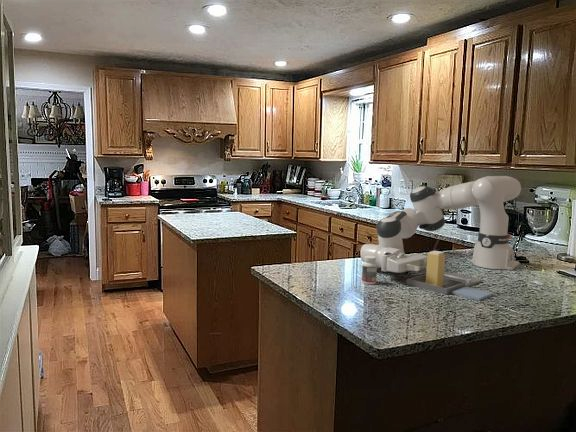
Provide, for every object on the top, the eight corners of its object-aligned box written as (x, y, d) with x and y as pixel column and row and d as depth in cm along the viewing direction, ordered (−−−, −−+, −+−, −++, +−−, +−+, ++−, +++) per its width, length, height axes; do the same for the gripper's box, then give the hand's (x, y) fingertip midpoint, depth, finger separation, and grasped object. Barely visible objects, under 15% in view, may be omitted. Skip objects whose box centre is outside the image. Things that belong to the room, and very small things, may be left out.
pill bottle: (360, 280, 178) (361, 255, 177) (374, 280, 179) (375, 255, 177) (363, 284, 173) (364, 258, 172) (378, 284, 173) (379, 258, 172)
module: (432, 283, 177) (434, 250, 175) (443, 286, 173) (445, 252, 172) (425, 285, 174) (427, 251, 172) (436, 288, 170) (438, 253, 169)
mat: (465, 288, 171) (465, 286, 171) (493, 295, 164) (493, 292, 164) (451, 293, 164) (451, 291, 164) (479, 300, 157) (479, 298, 157)
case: (443, 273, 192) (444, 268, 192) (482, 281, 180) (482, 276, 180) (406, 284, 175) (406, 278, 175) (446, 294, 163) (446, 288, 163)
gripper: (410, 263, 192) (440, 270, 182) (379, 271, 179) (410, 279, 169) (410, 248, 192) (442, 254, 181) (379, 255, 178) (411, 262, 168)
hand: (426, 266), depth 175 cm, fingers open, 8 cm apart
